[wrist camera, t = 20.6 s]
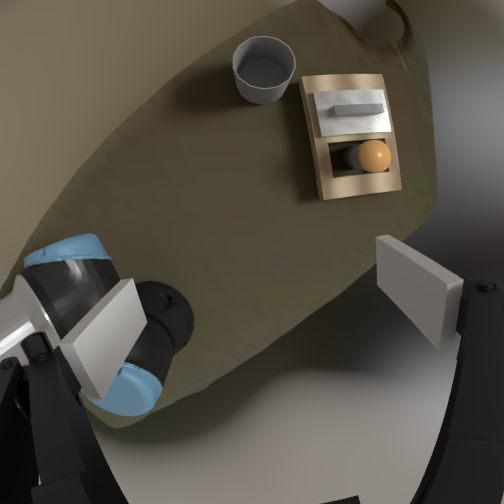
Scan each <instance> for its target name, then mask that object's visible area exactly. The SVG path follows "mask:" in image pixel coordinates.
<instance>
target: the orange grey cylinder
mask: <svg viewBox="0 0 504 504" xmlns="http://www.w3.org/2000/svg"><path fill="white" fill-rule="evenodd" d="M342 160H343V162H344V164H345V165H346V166H347V167H348V168H350V169H363V170H366V171H368V172H383V171H385V170H386V169H387V168H388V167H389V165H390V162H391V153H390V150H389V148H388V146H387V145H386V144H385V143H383V142H382V141H380V140H370V141H366V142H364V143H362V144H359V145H354V146H349V147H347V148H346V149H345V150H344V151H343V154H342Z"/></svg>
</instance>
